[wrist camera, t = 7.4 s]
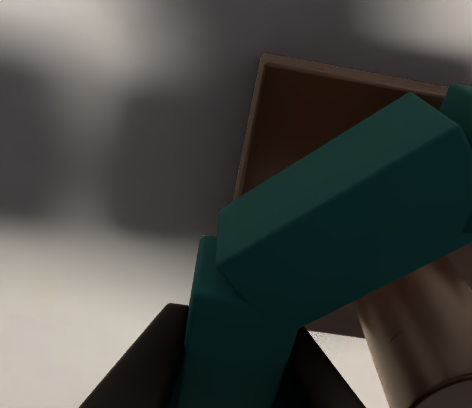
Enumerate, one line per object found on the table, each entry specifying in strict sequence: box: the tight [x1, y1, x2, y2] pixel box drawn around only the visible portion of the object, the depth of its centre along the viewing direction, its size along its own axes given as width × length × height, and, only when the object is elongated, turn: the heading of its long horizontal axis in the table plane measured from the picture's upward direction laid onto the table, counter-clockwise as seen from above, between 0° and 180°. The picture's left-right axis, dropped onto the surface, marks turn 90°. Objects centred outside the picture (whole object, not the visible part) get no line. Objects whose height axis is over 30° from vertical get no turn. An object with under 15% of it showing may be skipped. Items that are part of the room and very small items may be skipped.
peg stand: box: [233, 53, 472, 408], centre depth 10 cm, size 8×8×8 cm
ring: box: [175, 83, 472, 408], centre depth 8 cm, size 10×10×2 cm
